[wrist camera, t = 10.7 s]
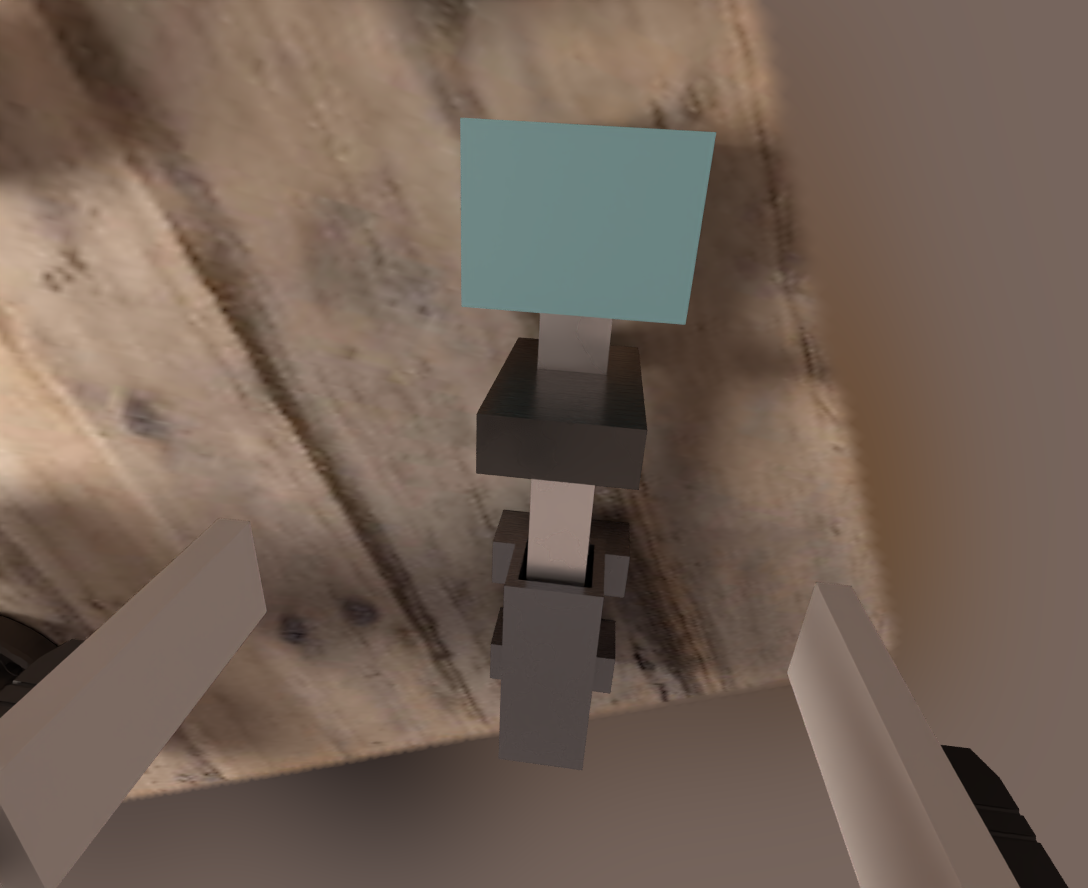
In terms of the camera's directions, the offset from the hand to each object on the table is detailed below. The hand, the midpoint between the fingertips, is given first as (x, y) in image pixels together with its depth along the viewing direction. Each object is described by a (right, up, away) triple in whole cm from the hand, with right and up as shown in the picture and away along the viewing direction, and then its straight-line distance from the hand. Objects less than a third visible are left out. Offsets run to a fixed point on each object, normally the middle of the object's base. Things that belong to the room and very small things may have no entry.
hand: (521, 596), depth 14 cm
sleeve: (+2, -6, +26) cm, 27 cm away
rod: (+2, +4, +18) cm, 19 cm away
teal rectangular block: (+3, +16, +16) cm, 22 cm away
